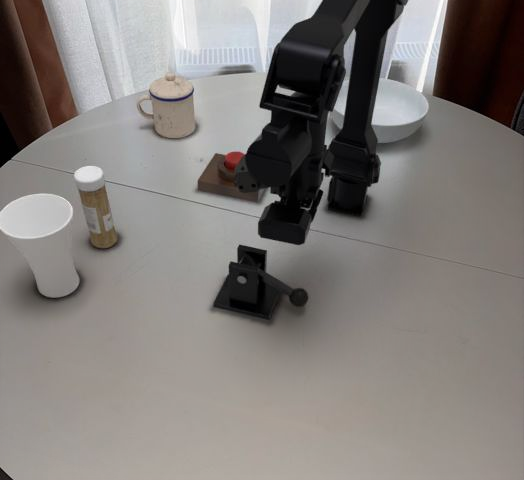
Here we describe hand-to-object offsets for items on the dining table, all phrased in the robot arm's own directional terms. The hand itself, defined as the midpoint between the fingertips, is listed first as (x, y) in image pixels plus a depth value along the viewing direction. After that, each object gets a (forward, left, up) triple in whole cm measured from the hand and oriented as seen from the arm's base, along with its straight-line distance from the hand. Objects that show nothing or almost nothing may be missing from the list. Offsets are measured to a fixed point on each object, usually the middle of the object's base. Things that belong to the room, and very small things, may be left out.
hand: (294, 240), depth 85 cm
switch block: (+18, -26, -11) cm, 34 cm away
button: (+18, -26, -7) cm, 33 cm away
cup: (+36, +10, -11) cm, 39 cm away
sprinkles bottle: (+34, -2, -11) cm, 36 cm away
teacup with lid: (+38, -40, -11) cm, 56 cm away
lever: (+3, +4, -7) cm, 8 cm away
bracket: (+6, +4, -11) cm, 13 cm away
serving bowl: (-4, -54, -11) cm, 56 cm away
